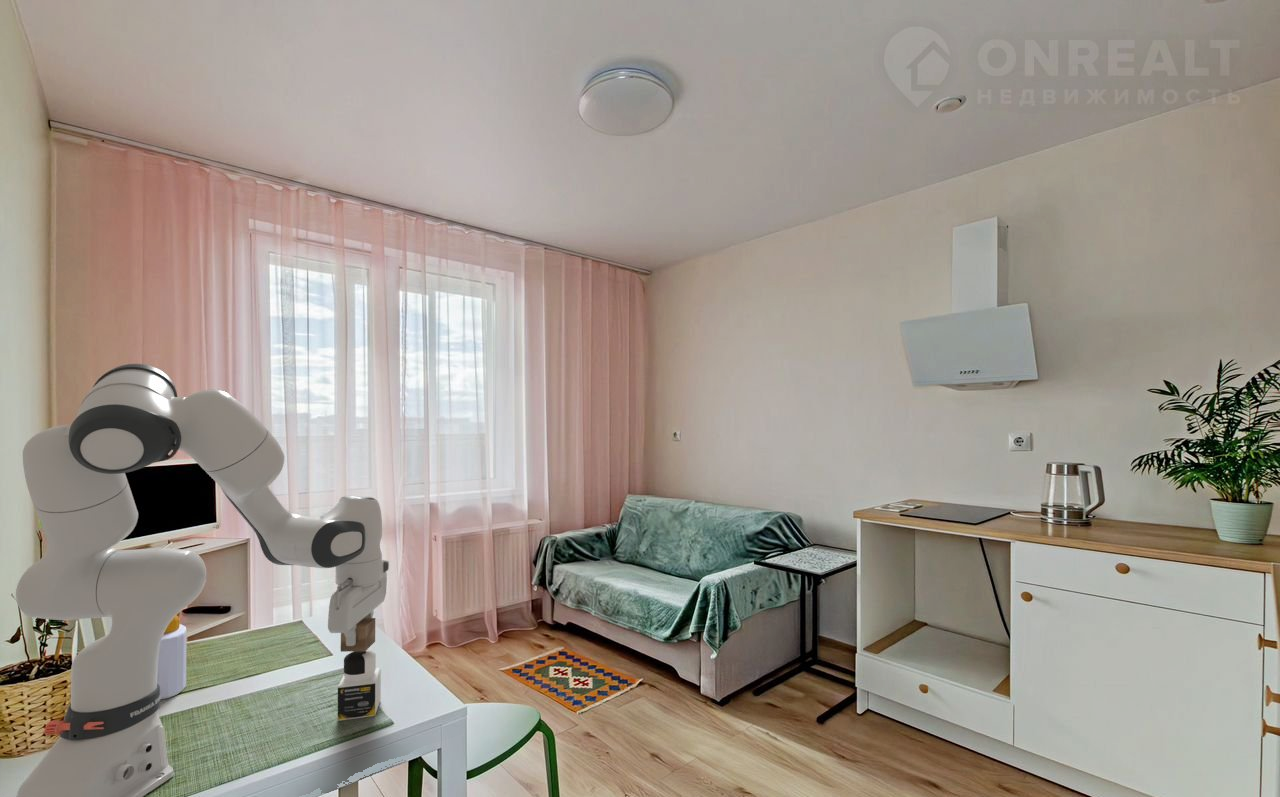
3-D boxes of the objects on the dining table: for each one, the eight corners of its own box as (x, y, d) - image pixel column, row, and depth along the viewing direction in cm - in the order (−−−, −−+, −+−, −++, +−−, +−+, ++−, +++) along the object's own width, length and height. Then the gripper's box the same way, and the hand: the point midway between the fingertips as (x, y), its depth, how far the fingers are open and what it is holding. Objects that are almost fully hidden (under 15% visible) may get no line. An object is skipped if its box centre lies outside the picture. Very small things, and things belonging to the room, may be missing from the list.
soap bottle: (191, 692, 132) (192, 601, 132) (143, 706, 126) (144, 610, 126) (180, 674, 141) (181, 589, 141) (135, 686, 135) (136, 597, 135)
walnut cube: (365, 651, 120) (365, 626, 121) (340, 651, 120) (340, 627, 120) (375, 641, 125) (375, 618, 126) (351, 642, 125) (351, 618, 125)
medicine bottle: (337, 721, 119) (337, 662, 119) (344, 704, 125) (345, 648, 126) (375, 716, 120) (375, 657, 121) (380, 700, 127) (380, 644, 128)
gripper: (352, 586, 113) (352, 659, 113) (392, 559, 133) (392, 621, 133) (319, 587, 113) (318, 659, 112) (363, 560, 133) (363, 621, 133)
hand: (358, 638), depth 123 cm, fingers closed on walnut cube, 5 cm apart
